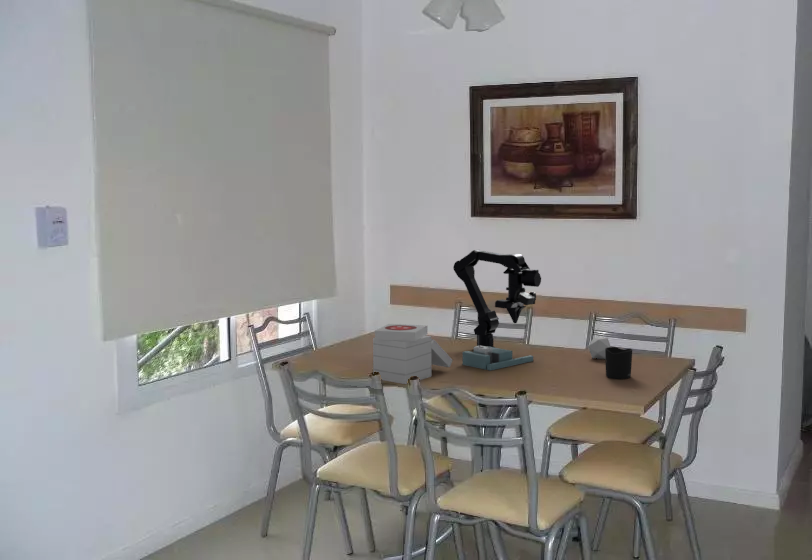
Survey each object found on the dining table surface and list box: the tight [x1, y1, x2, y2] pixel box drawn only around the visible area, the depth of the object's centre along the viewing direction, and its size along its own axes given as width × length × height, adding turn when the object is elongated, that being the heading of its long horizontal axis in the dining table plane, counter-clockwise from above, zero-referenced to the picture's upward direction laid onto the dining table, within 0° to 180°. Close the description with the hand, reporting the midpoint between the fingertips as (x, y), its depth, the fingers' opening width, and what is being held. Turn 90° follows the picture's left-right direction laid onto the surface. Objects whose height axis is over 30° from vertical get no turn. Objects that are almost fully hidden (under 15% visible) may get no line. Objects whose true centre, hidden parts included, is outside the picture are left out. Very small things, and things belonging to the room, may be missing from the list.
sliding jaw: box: [492, 346, 513, 363], centre depth 346 cm, size 12×8×5 cm, turn 42°
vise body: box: [462, 350, 534, 371], centre depth 346 cm, size 14×24×5 cm, turn 132°
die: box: [587, 336, 612, 360], centre depth 353 cm, size 8×9×10 cm
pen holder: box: [604, 346, 633, 380], centre depth 321 cm, size 9×9×10 cm
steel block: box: [473, 345, 492, 364], centre depth 342 cm, size 6×4×7 cm, turn 42°
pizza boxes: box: [372, 323, 454, 385], centre depth 327 cm, size 19×30×18 cm, turn 141°
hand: (515, 323), depth 365 cm, fingers closed
